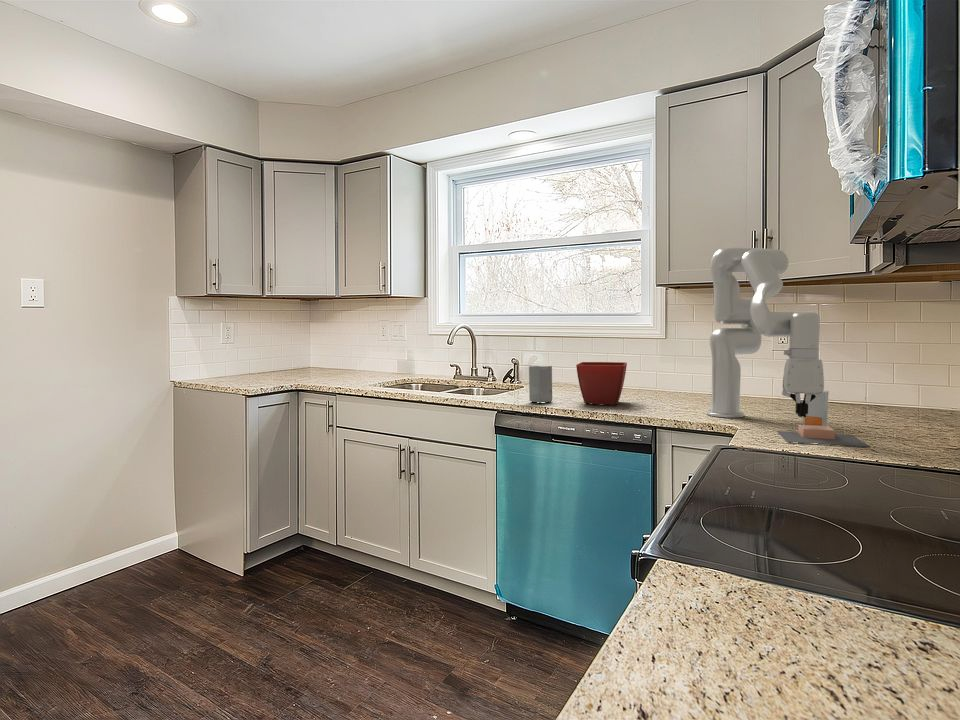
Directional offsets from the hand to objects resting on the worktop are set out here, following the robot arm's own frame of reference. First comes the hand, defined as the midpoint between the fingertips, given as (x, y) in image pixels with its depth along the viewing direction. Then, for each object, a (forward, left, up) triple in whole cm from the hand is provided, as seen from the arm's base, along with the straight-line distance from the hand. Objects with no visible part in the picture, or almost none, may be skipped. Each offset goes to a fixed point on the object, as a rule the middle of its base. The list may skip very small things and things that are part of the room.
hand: (801, 416), depth 167 cm
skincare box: (-17, +7, -6) cm, 20 cm away
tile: (0, 0, -4) cm, 5 cm away
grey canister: (-47, -89, -6) cm, 100 cm away
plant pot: (-52, -64, -6) cm, 82 cm away
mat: (+3, +4, -6) cm, 8 cm away
